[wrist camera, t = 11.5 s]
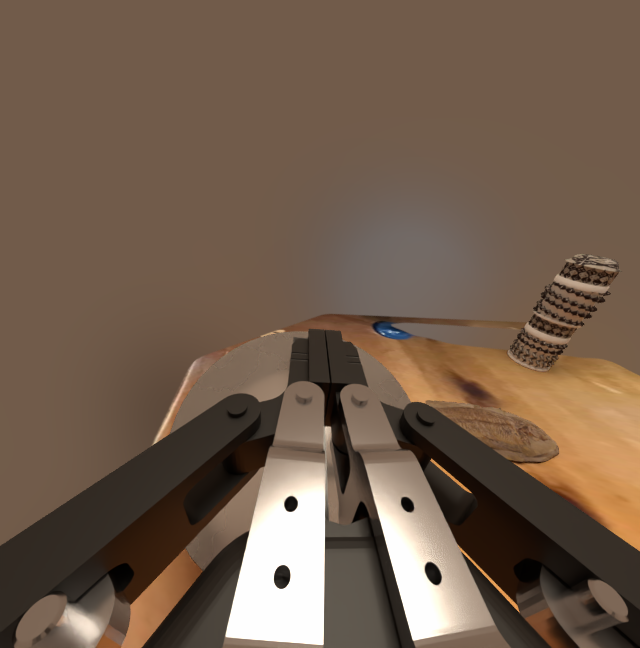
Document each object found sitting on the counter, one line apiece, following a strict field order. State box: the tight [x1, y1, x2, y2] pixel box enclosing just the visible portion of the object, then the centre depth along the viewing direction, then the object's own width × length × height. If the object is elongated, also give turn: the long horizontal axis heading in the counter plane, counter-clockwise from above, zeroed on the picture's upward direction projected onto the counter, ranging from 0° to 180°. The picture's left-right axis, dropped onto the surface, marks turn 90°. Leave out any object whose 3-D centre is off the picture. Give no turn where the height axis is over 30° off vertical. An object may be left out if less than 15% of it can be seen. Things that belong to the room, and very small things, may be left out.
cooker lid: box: [170, 332, 411, 571], centre depth 17 cm, size 18×18×5 cm
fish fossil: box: [426, 400, 559, 462], centre depth 39 cm, size 26×10×1 cm, turn 86°
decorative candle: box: [507, 254, 621, 372], centre depth 51 cm, size 9×9×25 cm
